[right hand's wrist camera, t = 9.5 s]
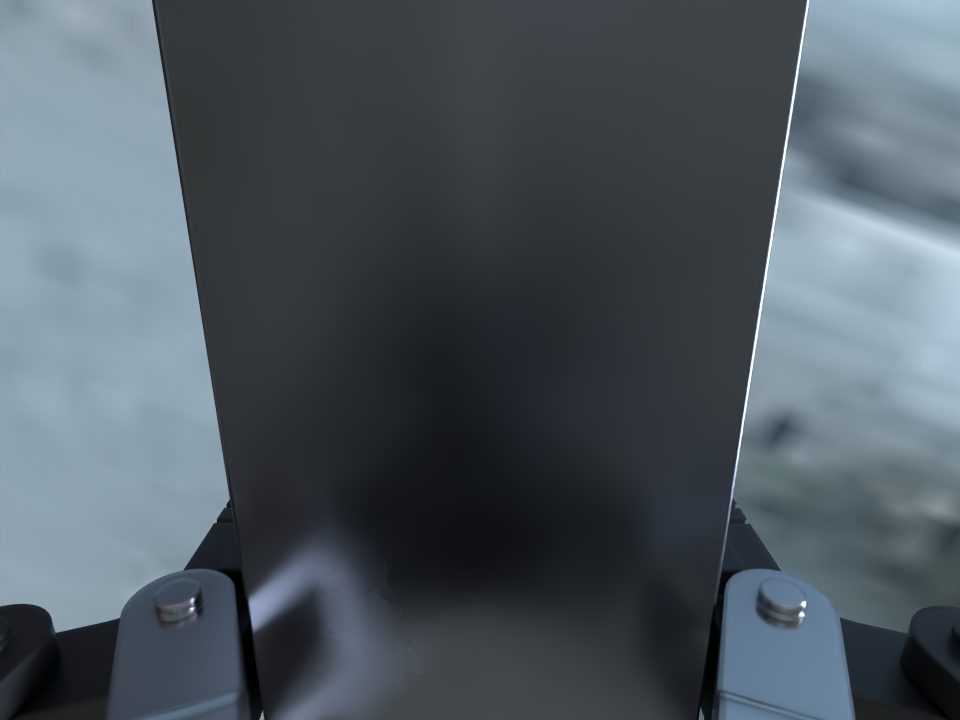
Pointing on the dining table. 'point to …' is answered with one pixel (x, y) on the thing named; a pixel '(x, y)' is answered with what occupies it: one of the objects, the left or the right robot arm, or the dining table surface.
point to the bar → (481, 335)
